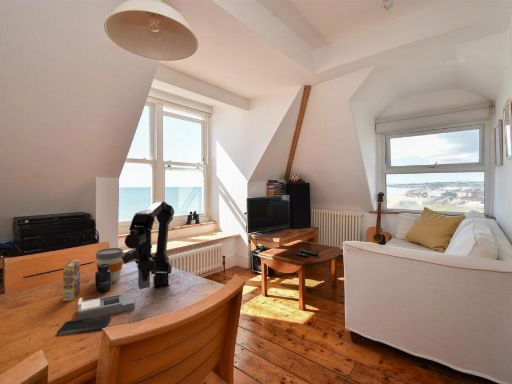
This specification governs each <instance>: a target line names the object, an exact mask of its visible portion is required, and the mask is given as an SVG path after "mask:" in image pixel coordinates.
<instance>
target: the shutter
mask: <svg viewBox="0 0 512 384" xmlns="http://www.w3.org/2000/svg"><path fill="white" fill-rule="evenodd" d="M95 299H96V298H95ZM90 300H91V299H90ZM82 301H83V297H80V298H78V303H77V312H78V311H82V310H86V309H91V308H96V307H100V299H96V300H91V301H86V300H85V301H86V302H82Z"/></svg>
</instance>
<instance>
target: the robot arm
mask: <svg viewBox="0 0 512 384" xmlns="http://www.w3.org/2000/svg"><path fill="white" fill-rule="evenodd" d="M174 215H175V210H174V208H173V206H172V205H170V204H168V203H167V202H166V201H164V200H155V201H154V202H153V204H151V205H150V206H149V207H148V208H146V209H145V210H141V211H138V212H136V213H135V214H134V215H133V217H132V219H131V223H130V226H129V234H127V236H126V237H125V239H124V244H125V246H126V247H127V248H128V249H130V250H127V251H126V252H125V251H124V252H123V254H121V257H122V260H123V264H127V263H129V262H131V261H133V260H134V262H135V263H136V268H137V271H138V270H141V273H142V277H143V281H146V280H147V278H148V276H149V274H150V275H153V276H152V281H153V283H152V284H153V286H154V288H155V289H159V288H164V287H169V286H170V283H169V275H170V274H172V270H173V269H172V264H171V263H170V260H169V259H170V258H169V256H168V254H167V248H168V247H167V246H168V238H169V236H168V235H169V227H170V225H169V224H171V222H172V221H173V219H174V218H173V217H174ZM155 218H156V219H155ZM155 220H157V222H158V231H157V241H156V250H155V254H154V255H153V254H152V248H153V245H152V230H153V227H154V223H155Z"/></svg>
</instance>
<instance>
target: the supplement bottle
mask: <svg viewBox="0 0 512 384" xmlns="http://www.w3.org/2000/svg"><path fill="white" fill-rule="evenodd" d="M96 268H97V269H96V271H95V273H94V292H95V293H98V294H101V293H107V292H109V291H111V289H112V283H113V282H112V272H111V270H109V264H100V265H98V266H97V265H96Z"/></svg>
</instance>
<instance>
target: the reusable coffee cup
mask: <svg viewBox="0 0 512 384" xmlns="http://www.w3.org/2000/svg"><path fill="white" fill-rule="evenodd" d="M123 253H124V249H123V248H121V247H111V248H110V247H109V248H104V249H100V250H98V251H96V253H95V259H96V267H97V266H98V265H100V264H109V270H111V272H112V282H111V283H113V282H116V281H118V280H119V279H120V278H121V271H122V269H123V264H124V262H123V260H122V257H121V254H123Z"/></svg>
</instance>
